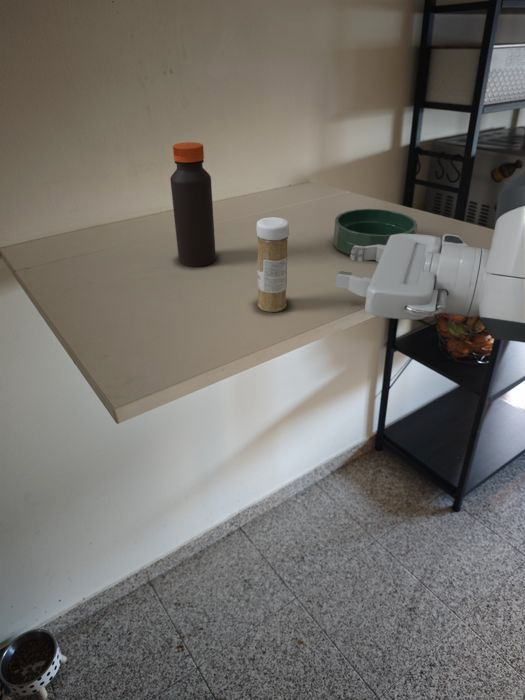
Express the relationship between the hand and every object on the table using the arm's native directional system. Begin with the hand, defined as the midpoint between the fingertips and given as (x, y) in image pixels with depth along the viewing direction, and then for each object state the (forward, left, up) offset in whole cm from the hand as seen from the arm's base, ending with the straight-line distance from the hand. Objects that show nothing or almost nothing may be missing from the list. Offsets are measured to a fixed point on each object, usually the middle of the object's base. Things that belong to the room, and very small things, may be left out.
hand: (344, 265), depth 69 cm
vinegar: (+19, -26, -9) cm, 33 cm away
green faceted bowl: (-15, -26, -9) cm, 31 cm away
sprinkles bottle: (+9, -6, -9) cm, 14 cm away
